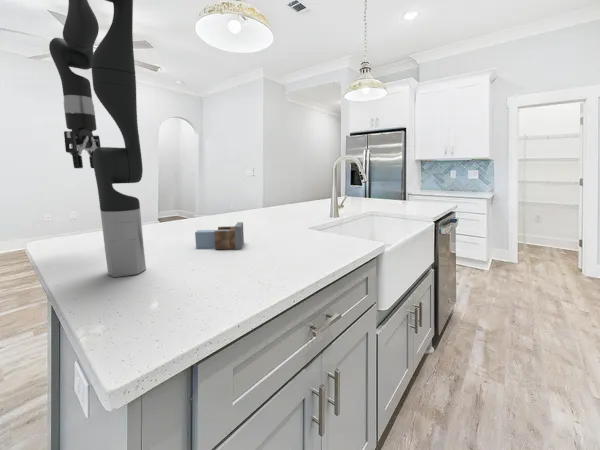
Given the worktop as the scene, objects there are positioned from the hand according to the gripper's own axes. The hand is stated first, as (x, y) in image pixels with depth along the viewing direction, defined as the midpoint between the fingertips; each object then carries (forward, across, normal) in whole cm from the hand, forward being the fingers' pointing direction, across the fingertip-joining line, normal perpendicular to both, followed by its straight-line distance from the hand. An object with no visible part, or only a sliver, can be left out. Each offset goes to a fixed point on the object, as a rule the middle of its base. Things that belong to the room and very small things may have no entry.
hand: (87, 168), depth 97 cm
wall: (+28, -8, +45) cm, 54 cm away
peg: (+28, -8, +36) cm, 46 cm away
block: (+28, -8, +40) cm, 50 cm away
